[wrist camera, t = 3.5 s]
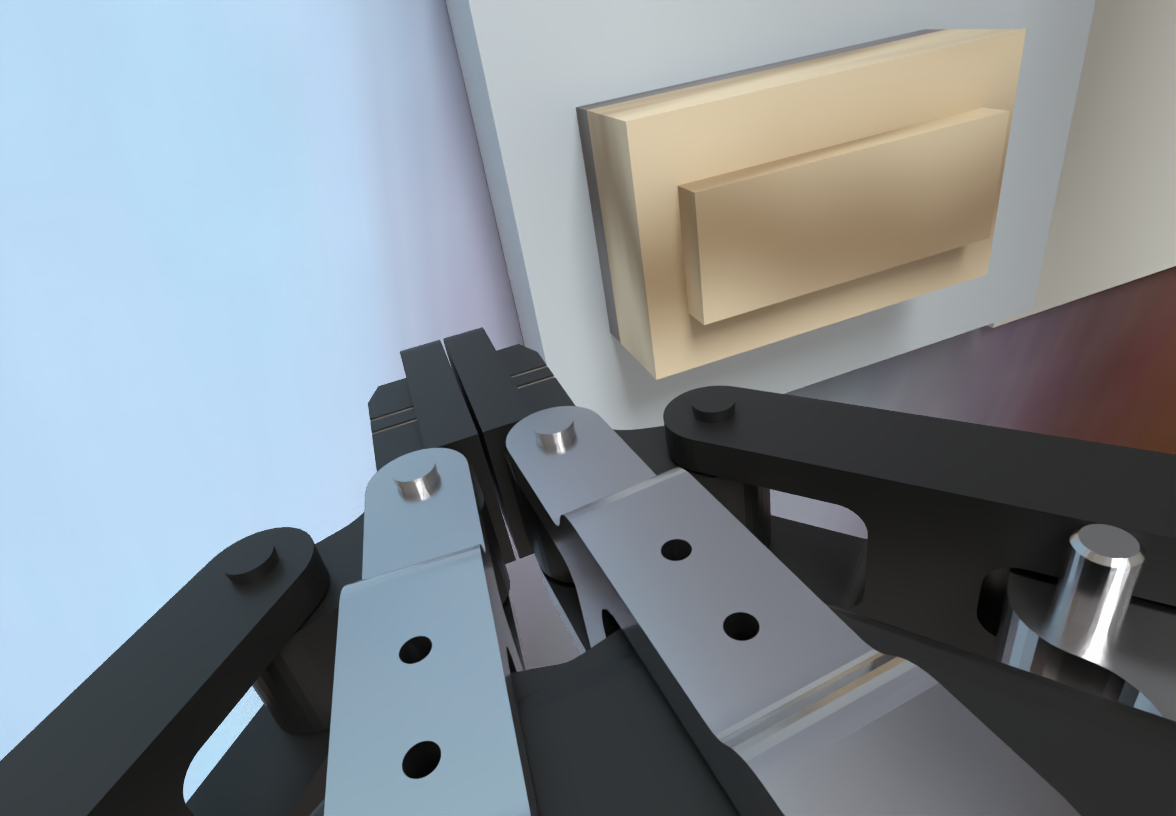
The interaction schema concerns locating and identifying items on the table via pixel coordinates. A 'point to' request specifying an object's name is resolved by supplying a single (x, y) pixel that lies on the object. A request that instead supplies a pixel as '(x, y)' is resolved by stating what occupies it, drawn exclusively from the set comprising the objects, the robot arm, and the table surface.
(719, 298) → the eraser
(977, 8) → the large white box
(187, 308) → the table surface
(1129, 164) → the mat
